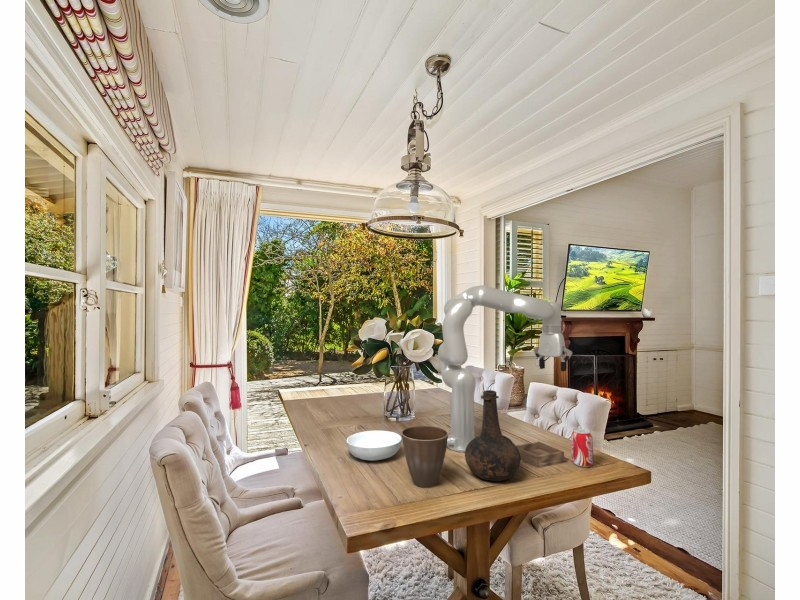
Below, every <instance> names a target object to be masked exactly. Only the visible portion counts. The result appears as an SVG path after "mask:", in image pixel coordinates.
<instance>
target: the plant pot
mask: <svg viewBox="0 0 800 600" xmlns="http://www.w3.org/2000/svg"><path fill="white" fill-rule="evenodd" d="M448 435H449V431H448V430H447V429H444V428H442V427H438V426H434V425H433V426H431V425H414V426H409V427H406V428H404V429H402V431H401V438H402V445H403V446H402V447H403V452H404V456H405V461H406V463H407V468H408V471H409V474H410V477H411V481H412V483H413V485H414V486H417V487H419V488H422V489H423V488H424V489H426V488H427V489H428V488H432V487H434V486H437V483H438V481H439V478H440V475H441V473H442V472H441V471H442V469H443V465H444V461H445V457H446V451H447V448H448V447H447V441H448Z"/></svg>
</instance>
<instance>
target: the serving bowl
mask: <svg viewBox="0 0 800 600" xmlns="http://www.w3.org/2000/svg"><path fill="white" fill-rule="evenodd" d="M402 441H403V439H402V435H400V434H399V433H397V432H394V431H390V430H389V431H388V430H365V431H360V432H356V433H354V434H351V435H349V436H348V437H347V438H346V447H347V449H348V451H349V453H350V454H351V455H352V456H353V457H355V458H357V459H359V460H365V461H373V462H374V461H380V460H386V459H389V458H391V457H393V456H394V455H395V454H397V452H398V451H399V450H400V448H401V445H402Z"/></svg>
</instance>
